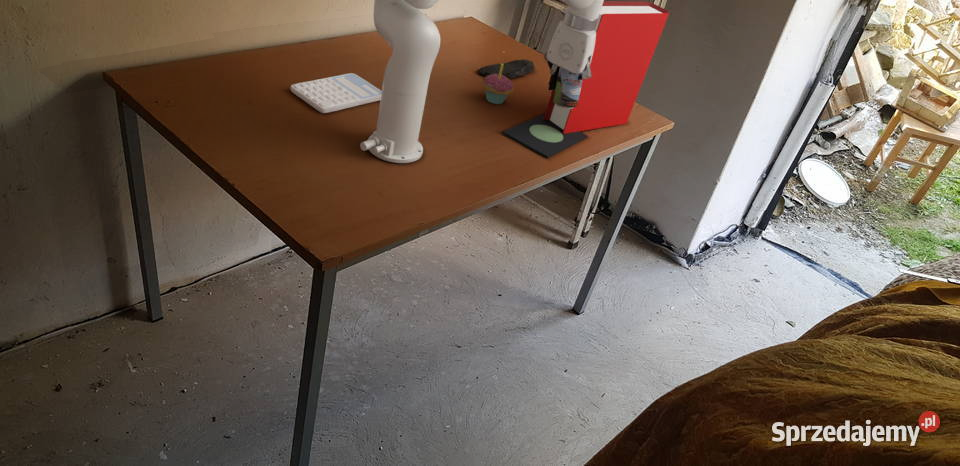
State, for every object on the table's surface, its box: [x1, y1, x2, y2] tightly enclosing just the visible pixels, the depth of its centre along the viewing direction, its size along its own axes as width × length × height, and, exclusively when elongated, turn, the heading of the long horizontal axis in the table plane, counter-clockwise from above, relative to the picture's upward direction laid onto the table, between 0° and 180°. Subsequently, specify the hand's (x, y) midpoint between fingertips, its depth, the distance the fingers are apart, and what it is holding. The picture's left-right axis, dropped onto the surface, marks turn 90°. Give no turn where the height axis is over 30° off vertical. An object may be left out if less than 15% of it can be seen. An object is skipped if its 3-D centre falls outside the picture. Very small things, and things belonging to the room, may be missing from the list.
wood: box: [477, 59, 535, 80], centre depth 209 cm, size 22×7×3 cm, turn 133°
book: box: [543, 0, 670, 134], centre depth 185 cm, size 27×8×32 cm, turn 128°
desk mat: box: [501, 113, 588, 159], centre depth 181 cm, size 20×14×1 cm
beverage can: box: [554, 67, 584, 109], centre depth 172 cm, size 6×7×12 cm
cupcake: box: [481, 61, 514, 105], centre depth 189 cm, size 9×8×12 cm
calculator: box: [289, 72, 382, 114], centre depth 174 cm, size 13×20×2 cm, turn 138°
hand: (559, 91), depth 175 cm, fingers closed on beverage can, 3 cm apart
